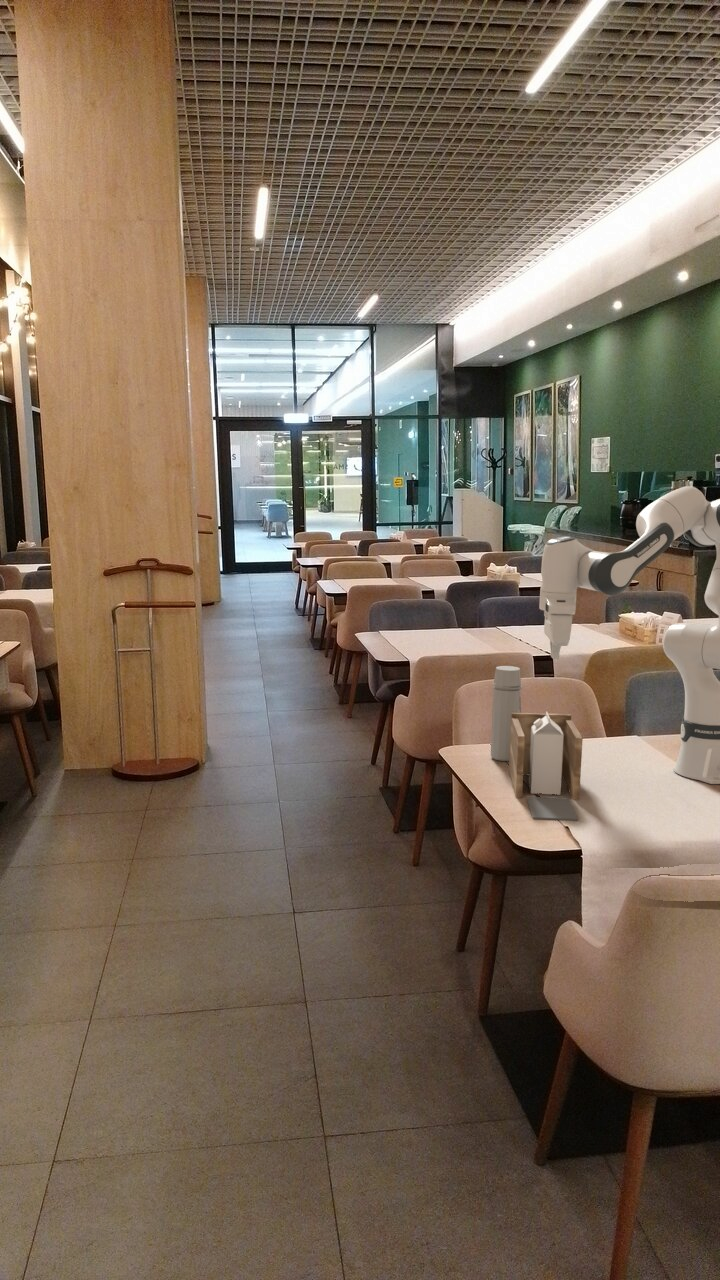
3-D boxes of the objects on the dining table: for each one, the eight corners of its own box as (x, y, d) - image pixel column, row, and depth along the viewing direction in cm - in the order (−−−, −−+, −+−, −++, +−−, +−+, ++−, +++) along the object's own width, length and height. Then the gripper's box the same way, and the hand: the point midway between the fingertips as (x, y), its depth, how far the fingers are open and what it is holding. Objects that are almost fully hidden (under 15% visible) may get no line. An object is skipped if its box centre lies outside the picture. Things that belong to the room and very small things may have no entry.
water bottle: (501, 763, 254) (505, 671, 250) (484, 756, 261) (487, 666, 257) (529, 759, 258) (533, 669, 254) (511, 752, 265) (515, 663, 261)
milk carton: (557, 786, 236) (561, 711, 233) (560, 795, 229) (564, 718, 226) (528, 785, 237) (531, 710, 234) (530, 794, 230) (534, 717, 227)
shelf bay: (567, 774, 246) (570, 714, 243) (579, 799, 227) (582, 734, 224) (508, 772, 247) (511, 712, 244) (515, 797, 228) (518, 732, 225)
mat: (568, 799, 227) (569, 798, 227) (578, 820, 213) (578, 818, 213) (526, 798, 227) (526, 796, 227) (532, 818, 213) (532, 817, 213)
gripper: (540, 597, 246) (537, 650, 248) (549, 607, 226) (546, 665, 228) (564, 598, 246) (561, 651, 248) (576, 608, 226) (573, 666, 228)
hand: (554, 658), depth 238 cm, fingers closed
